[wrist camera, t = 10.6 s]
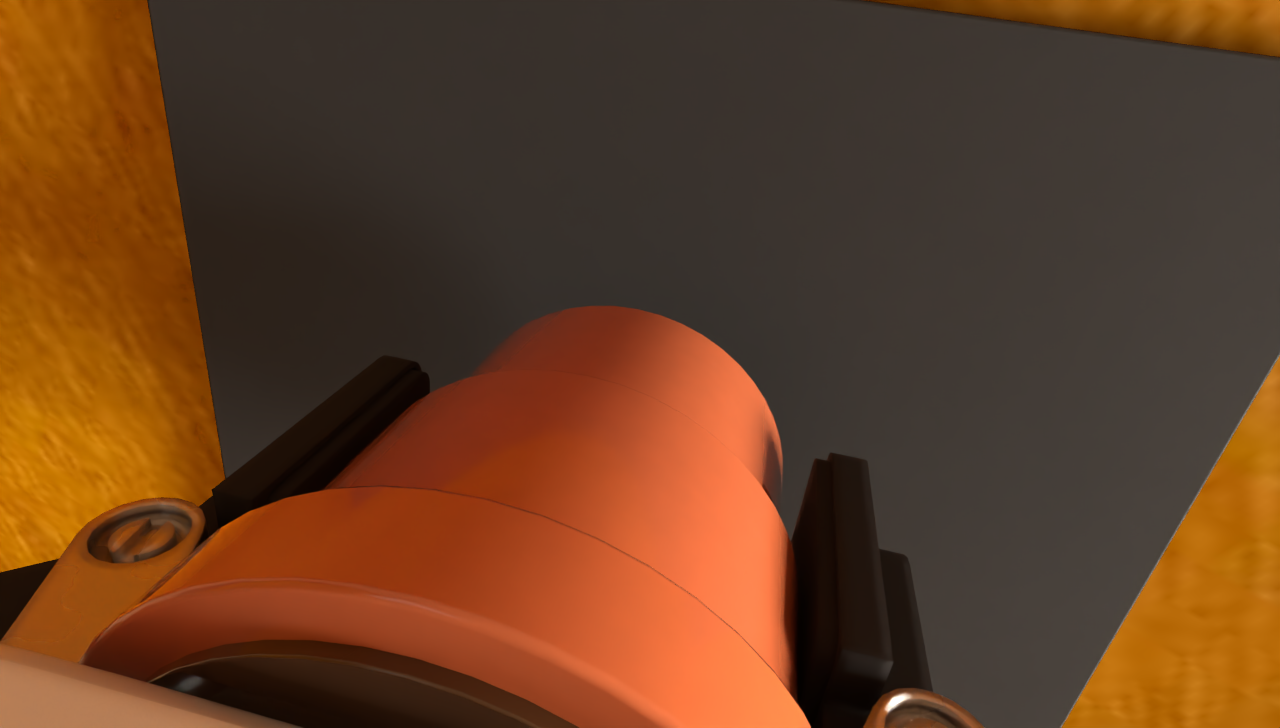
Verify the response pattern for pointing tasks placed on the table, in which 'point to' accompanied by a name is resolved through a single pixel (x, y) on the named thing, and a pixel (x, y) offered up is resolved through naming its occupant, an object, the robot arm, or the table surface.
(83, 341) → the table surface
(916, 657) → the robot arm
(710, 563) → the pot
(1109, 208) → the mat
